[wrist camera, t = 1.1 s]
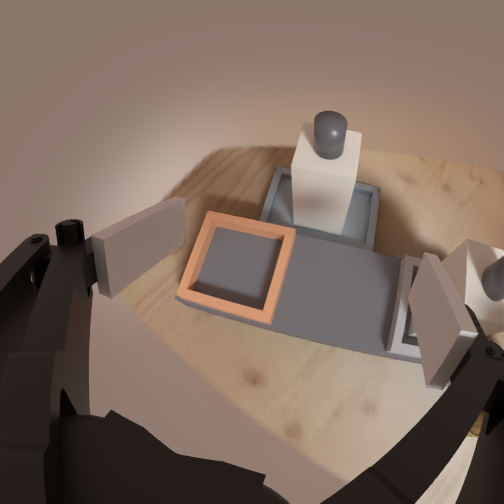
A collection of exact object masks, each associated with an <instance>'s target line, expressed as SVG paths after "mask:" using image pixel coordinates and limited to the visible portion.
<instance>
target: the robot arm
mask: <svg viewBox="0 0 504 504" xmlns="http://www.w3.org/2000/svg"><path fill="white" fill-rule="evenodd" d="M185 205H186V199H185V198H179V197H172V198H170V199H168V200H165V201H163V202H161V203H159V204H156V205H154V206H152V207H150V208H147V209H145V210H143V211H141V212H139V213H137V214H135V215H132V216H130V217H128V218H126V219H124V220H122V221H120V222H118V223H116V224H114V225H112V226H110V227H108V228H106V229H104V230H102V231H100V232H98V233H96V234H94V235H92V236H91V237H90V238H88V239H86V240H85V237H84V229H83V221H81V220H77V219H70V220H65V221H62V222H60V223H58V224H56V226H55V229H56V236H57V243H58V244H57V246H55V245H50V243H49V237H48V235H46V234H34V235H32V236H31V237H28V238H27V239H25V240H24V241H23V242H22V243H21V244H20V245H19V246H18V247H17V248H16V249H15V250H14V251H13V252H12V253H11V254H10V255H9V256H8V257H7V258H6V259H5V260H3V261H2V263H1V264H0V504H290V503H289V502H288V501H287V500H286V499H284V498H283V497H282V496H281V495H280V494H278V493H277V492H275V491H274V490H272V489H271V488H269V487H267V486H265V485H264V484H263V482H264V479H265V476H266V475H265V474H261V473H257V472H254V471H251V470H247V469H244V468H241V467H238V466H235V465H232V464H229V463H226V462H223V461H215V460H208V459H202V458H196V457H190V456H184V455H180V454H177V453H175V452H173V451H172V450H171V449H169V448H168V447H166V446H165V445H164V444H163V443H162V442H160V441H159V440H158V439H157V438H155V437H154V436H153V435H152V434H151V433H149V432H148V431H147V430H146V429H145V428H144V427H142V426H140V425H138V424H136V423H134V422H132V421H130V420H128V419H127V418H125V417H123V416H121V415H120V414H118V413H116V412H114V411H113V410H110V412H109V413H108V414H107V415H106V416H105V418H104V417H99V416H94V415H90V409H89V339H90V321H91V307H92V297H93V291H92V285H93V284H94V283H96V282H97V283H98V289H99V293H100V294H102V295H104V296H107V297H109V298H113V297H114V296H115V295H117V294H118V293H119V292H120V291H122V290H123V289H124V288H126V287H127V286H128V285H130V284H131V283H132V282H133V281H135V280H136V279H137V278H139V277H140V276H141V275H143V274H144V273H145V272H147V271H148V270H149V269H151V268H152V267H153V266H155V265H156V264H157V263H159V262H160V261H161V260H163V259H164V258H165V257H167V256H168V255H169V254H171V253H172V252H173V251H175V250H176V249H177V248H179V247H180V246H182V245H183V244H184V236H185ZM31 277H32V281H33V282H32V281H31ZM408 301H409V305H410V309H411V313H412V317H413V322H414V326H415V330H416V335H417V340H418V344H419V349H420V354H421V360H422V365H423V371H424V377H425V383H426V388H432V389H440V390H443V388H444V387H445V385H446V384H447V383H448V381H449V380H450V379H451V383H452V384H451V385H450V386H449V387H448V389H447V390H446V391H445V392H444V393H443V395H442V396H441V397H440V398H439V399H438V401H437V402H436V403H435V404H434V405H433V406H432V408H431V409H430V410H429V411H428V412H427V413H426V414H425V415H424V417H423V418H422V419H421V420H420V421H419V422H418V423H417V424H416V425H415V426H414V427H413V428H412V429H411V430H410V431H409V432H408V433H407V434H406V435H405V436H404V437H403V438H402V439H401V440H400V441H399V442H398V443H397V444H396V445H395V446H394V447H393V448H392V449H391V450H390V451H389V452H388V453H386V454H385V455H384V456H383V457H382V458H381V459H380V460H379V461H377V462H376V463H375V464H374V465H373V466H371V467H369V468H368V469H366V470H365V471H364V472H362V473H361V474H360V475H359V476H357V477H356V478H355V479H354V480H352V481H351V482H350V483H348V484H347V485H346V486H344V487H343V488H342V489H340V490H339V491H338V492H336V493H335V494H333V495H332V496H331V497H329V498H328V499H326V500H325V501H323V502H322V503H320V504H415V503H416V502H417V500H418V499H419V498H420V497H421V496H422V495H423V493H424V492H425V491H426V490H427V489H428V488H429V486H430V485H431V484H432V483H433V482H434V480H435V479H436V478H437V477H438V475H439V474H440V473H441V471H442V470H443V469H444V468H445V466H446V465H447V464H448V462H449V461H450V459H451V458H452V457H453V455H454V454H455V452H456V451H457V450H458V448H459V447H460V445H461V444H462V442H463V441H464V439H465V438H466V436H467V434H468V433H469V431H470V430H471V428H472V426H473V425H474V423H475V421H476V420H477V418H478V416H479V415H480V413H481V411H484V417H483V421H482V425H481V429H480V433H479V437H478V441H477V444H476V448H475V451H474V454H473V458H472V461H471V464H470V467H469V470H468V473H467V475H466V478H465V481H464V484H463V486H462V489H461V491H460V494H459V496H458V499H457V501H456V503H455V504H504V350H503V349H502V348H501V347H500V346H499V345H498V344H496V343H494V342H492V341H488V340H487V338H486V335H485V333H484V331H483V329H482V327H481V326H480V323H479V321H478V320H477V317H476V315H475V313H474V311H473V310H472V309H471V308H470V307H469V306H468V305H466V304H464V303H463V301H462V299H461V297H460V295H459V293H458V291H457V289H456V288H455V286H454V284H453V282H452V280H451V279H450V277H449V275H448V273H447V271H446V270H445V268H444V266H443V265H442V263H441V261H440V259H439V258H438V256H437V255H434V254H431V253H427V252H424V254H423V257H422V260H421V263H420V266H419V269H418V272H417V274H416V277H415V280H414V282H413V285H412V288H411V290H410V293H409V295H408Z"/></svg>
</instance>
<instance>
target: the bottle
mask: <svg viewBox="0 0 504 504" xmlns="http://www.w3.org/2000/svg"><path fill="white" fill-rule="evenodd" d="M361 136H362V134H361V133H358V132H354V131H349V130H347V120H346V118H345V117H344V116H342V115H341V114H340V113H337V112H334V111H324V112H321V113H319V114H317V115H316V117H315V119H314V124H311V123H305V122H304V124H303V127H302V130H301V134H300V137H299V141H298V144H297V147H296V151H295V154H294V158H293V161H292V164H291V176H292V196H293V220H294V225H296V226H300V227H305V228H309V229H314V230H318V231H323V232H327V233H331V234H336V235H341V232H342V229H343V225H344V222H345V218H346V215H347V211H348V208H349V204H350V200H351V197H352V193H353V189H354V186H355V182H356V177H357V169H358V161H359V153H360V144H361Z"/></svg>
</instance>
